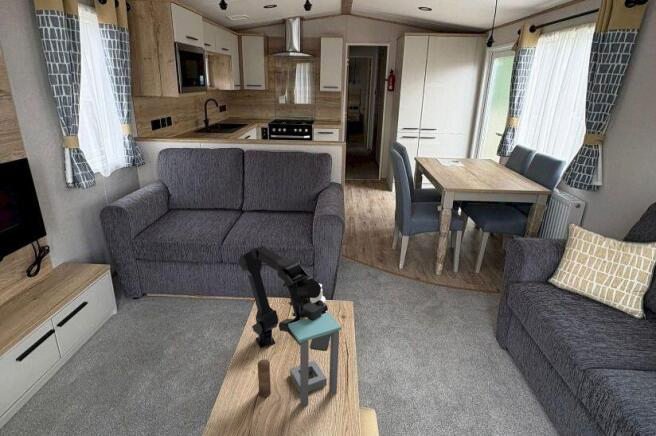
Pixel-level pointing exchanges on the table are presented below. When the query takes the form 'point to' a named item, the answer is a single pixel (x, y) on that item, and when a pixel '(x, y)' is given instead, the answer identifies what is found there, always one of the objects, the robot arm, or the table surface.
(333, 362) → the teal topped stool
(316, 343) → the phone
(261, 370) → the peg
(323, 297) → the spray bottle
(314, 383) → the socket
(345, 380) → the table surface
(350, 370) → the table surface
